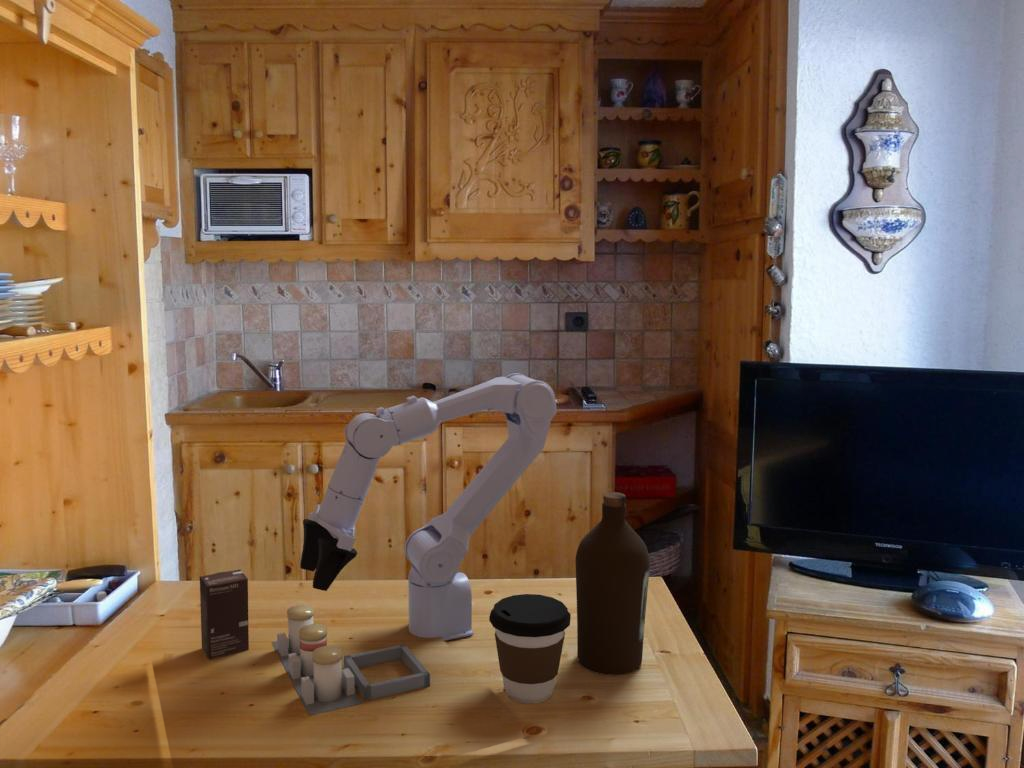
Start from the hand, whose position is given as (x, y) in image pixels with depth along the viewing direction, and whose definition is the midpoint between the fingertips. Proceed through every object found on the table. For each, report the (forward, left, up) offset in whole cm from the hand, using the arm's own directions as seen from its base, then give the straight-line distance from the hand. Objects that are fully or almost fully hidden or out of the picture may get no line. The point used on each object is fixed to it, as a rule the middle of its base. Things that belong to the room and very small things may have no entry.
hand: (313, 578), depth 127 cm
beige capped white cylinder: (+2, 0, -10) cm, 11 cm away
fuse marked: (+2, +8, -10) cm, 13 cm away
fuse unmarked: (+2, +15, -10) cm, 19 cm away
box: (+12, -4, -11) cm, 17 cm away
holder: (+2, +8, -11) cm, 14 cm away
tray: (-7, +14, -11) cm, 19 cm away
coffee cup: (-23, +25, -11) cm, 36 cm away
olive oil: (-38, +22, -11) cm, 45 cm away
